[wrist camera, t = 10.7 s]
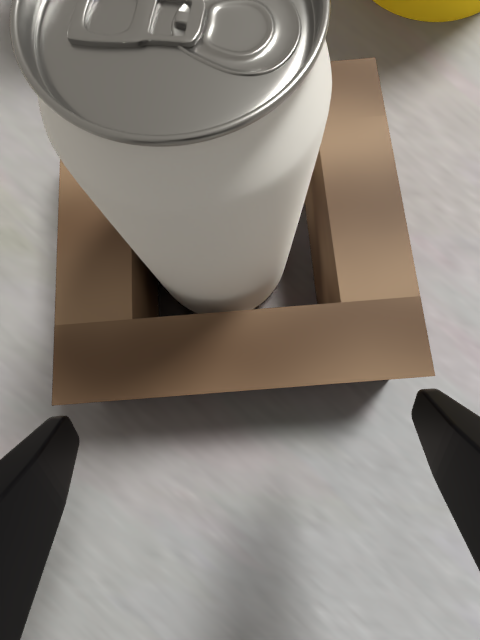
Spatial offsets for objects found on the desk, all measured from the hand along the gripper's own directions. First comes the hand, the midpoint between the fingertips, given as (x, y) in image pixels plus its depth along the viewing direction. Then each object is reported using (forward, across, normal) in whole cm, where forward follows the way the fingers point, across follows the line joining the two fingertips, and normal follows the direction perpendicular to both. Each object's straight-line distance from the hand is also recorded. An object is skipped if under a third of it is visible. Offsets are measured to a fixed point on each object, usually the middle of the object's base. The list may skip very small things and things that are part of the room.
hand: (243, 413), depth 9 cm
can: (+11, +1, 0) cm, 11 cm away
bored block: (+11, 0, 0) cm, 11 cm away
